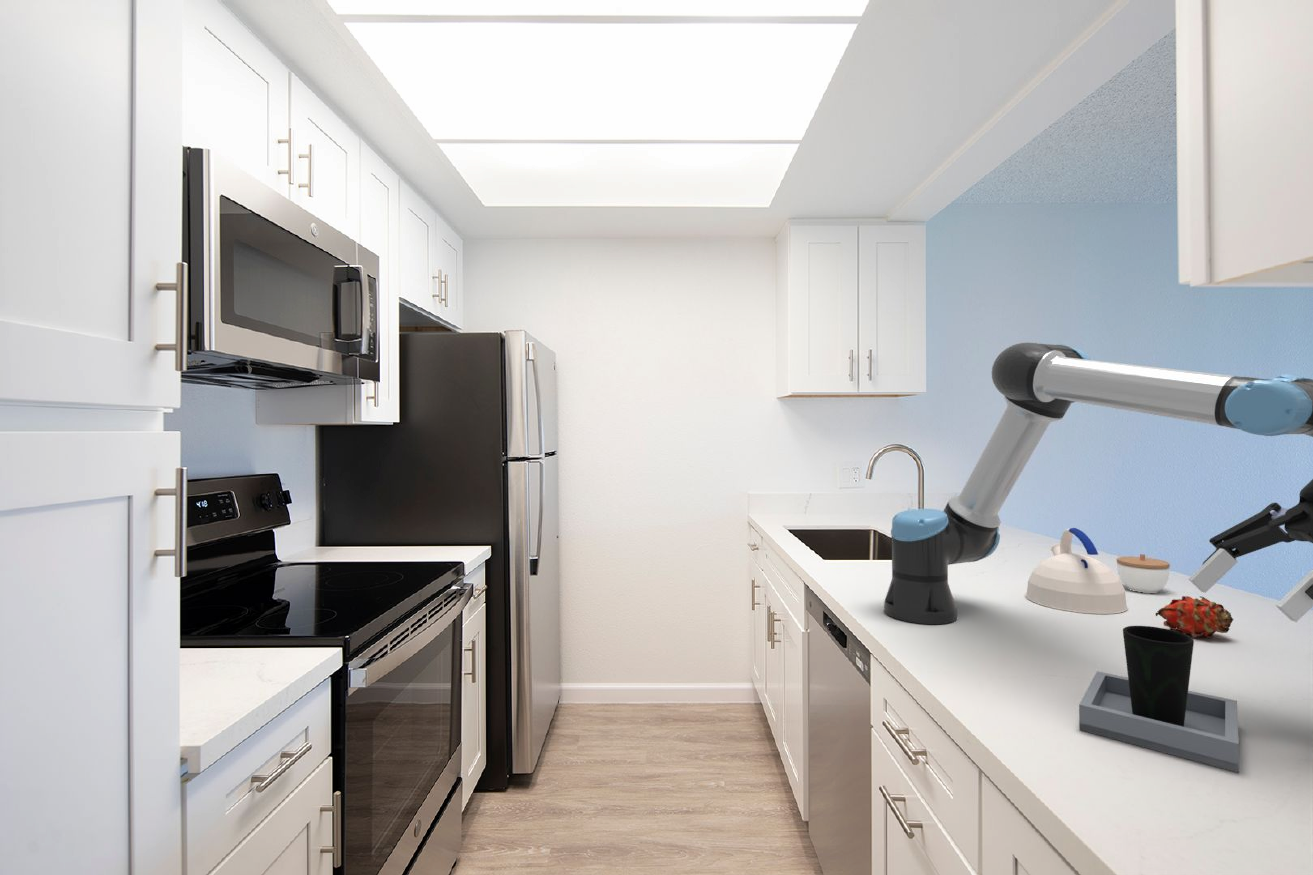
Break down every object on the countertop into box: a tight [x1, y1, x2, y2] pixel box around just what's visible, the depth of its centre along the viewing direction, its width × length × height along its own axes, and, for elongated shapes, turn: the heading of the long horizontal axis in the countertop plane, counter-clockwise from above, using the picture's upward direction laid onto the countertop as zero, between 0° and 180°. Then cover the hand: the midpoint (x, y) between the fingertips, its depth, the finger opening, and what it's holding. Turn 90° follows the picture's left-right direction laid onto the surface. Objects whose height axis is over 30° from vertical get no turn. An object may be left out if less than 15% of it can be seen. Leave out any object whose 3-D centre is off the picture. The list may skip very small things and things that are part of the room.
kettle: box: [1025, 527, 1129, 615], centre depth 147 cm, size 20×21×18 cm
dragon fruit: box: [1155, 595, 1234, 639], centre depth 123 cm, size 8×8×12 cm
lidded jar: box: [1116, 553, 1171, 594], centre depth 158 cm, size 11×11×9 cm
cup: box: [1122, 625, 1195, 727], centre depth 85 cm, size 8×8×12 cm
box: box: [1078, 670, 1240, 773], centre depth 85 cm, size 16×16×4 cm
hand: (1237, 598), depth 85 cm, fingers open, 13 cm apart
